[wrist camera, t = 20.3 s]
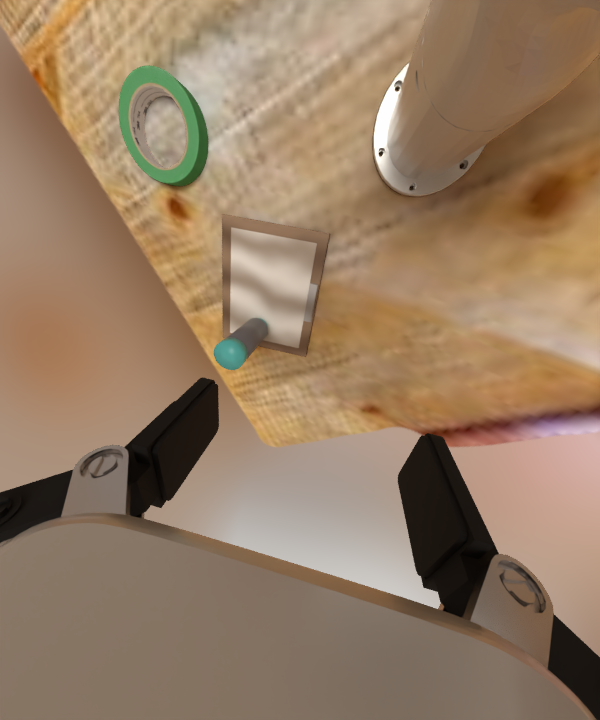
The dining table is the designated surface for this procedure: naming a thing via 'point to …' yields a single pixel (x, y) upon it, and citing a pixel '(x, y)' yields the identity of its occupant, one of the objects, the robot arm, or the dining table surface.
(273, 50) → the dining table surface
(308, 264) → the clipboard
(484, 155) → the dining table surface
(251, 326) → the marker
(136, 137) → the tape roll
